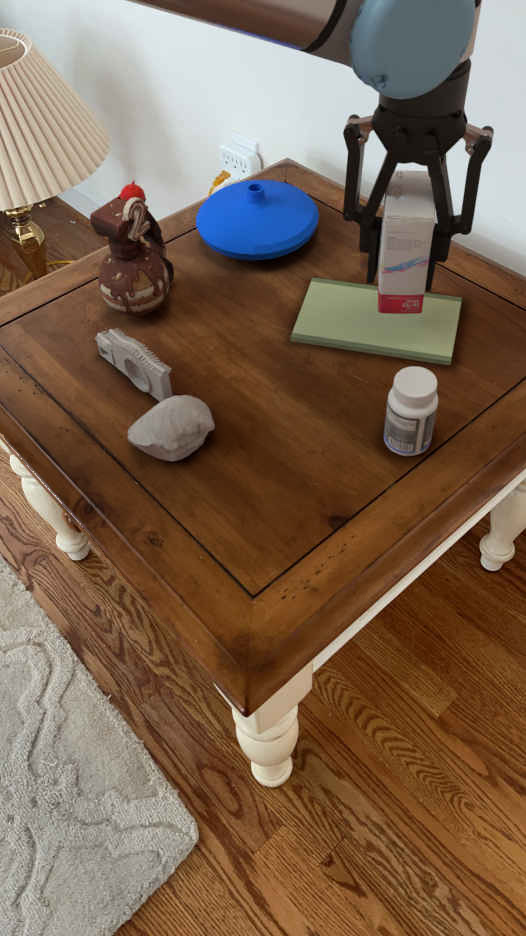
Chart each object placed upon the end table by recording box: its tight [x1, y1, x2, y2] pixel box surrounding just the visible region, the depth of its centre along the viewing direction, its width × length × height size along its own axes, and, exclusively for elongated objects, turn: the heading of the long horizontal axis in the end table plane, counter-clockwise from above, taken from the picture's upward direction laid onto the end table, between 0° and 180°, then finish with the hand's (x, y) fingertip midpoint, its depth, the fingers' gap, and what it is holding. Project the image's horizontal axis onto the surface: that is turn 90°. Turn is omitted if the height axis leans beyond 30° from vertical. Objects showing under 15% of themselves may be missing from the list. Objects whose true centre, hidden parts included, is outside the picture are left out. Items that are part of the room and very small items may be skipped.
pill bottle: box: [383, 365, 439, 457], centre depth 72 cm, size 5×5×8 cm
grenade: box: [89, 179, 175, 317], centre depth 84 cm, size 9×8×15 cm
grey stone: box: [127, 394, 216, 462], centre depth 75 cm, size 9×8×5 cm
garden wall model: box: [94, 327, 174, 403], centre depth 80 cm, size 12×2×6 cm, turn 44°
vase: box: [195, 179, 320, 261], centre depth 95 cm, size 16×16×7 cm
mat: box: [290, 277, 463, 366], centre depth 86 cm, size 18×11×1 cm, turn 75°
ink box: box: [377, 169, 436, 314], centre depth 77 cm, size 9×5×12 cm, turn 173°
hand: (400, 279), depth 81 cm, fingers closed on ink box, 5 cm apart
